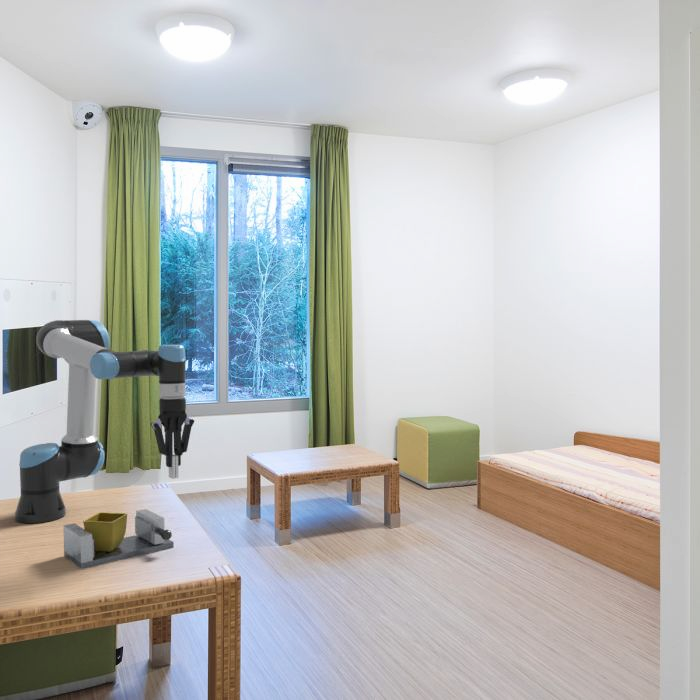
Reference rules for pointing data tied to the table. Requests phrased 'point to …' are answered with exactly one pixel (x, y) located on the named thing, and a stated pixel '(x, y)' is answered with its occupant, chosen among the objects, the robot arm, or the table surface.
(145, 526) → the block
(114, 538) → the flower pot
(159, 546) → the vise base
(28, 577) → the table surface
